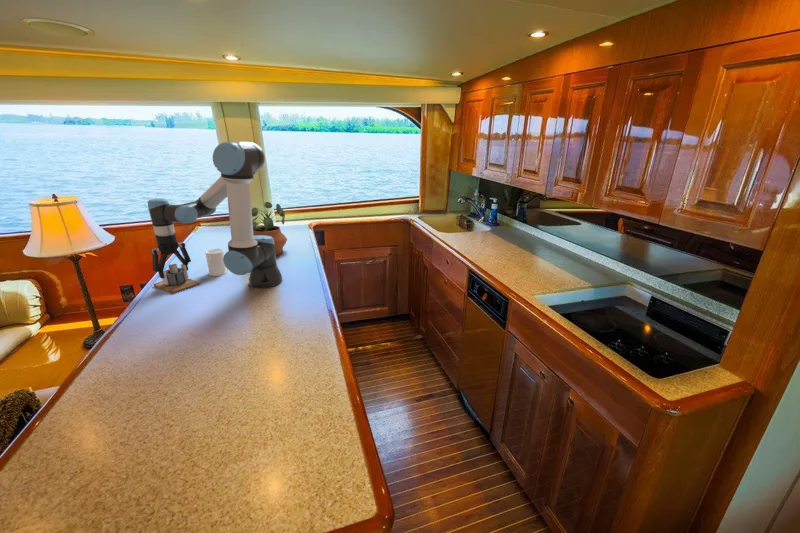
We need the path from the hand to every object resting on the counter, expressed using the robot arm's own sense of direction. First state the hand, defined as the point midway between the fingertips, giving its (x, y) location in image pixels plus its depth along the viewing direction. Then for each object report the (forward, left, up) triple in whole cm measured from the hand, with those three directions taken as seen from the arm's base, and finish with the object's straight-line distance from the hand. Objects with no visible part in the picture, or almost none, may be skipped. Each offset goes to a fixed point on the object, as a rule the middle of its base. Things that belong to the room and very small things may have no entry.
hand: (176, 280), depth 157 cm
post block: (0, 0, -2) cm, 2 cm away
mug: (-3, -18, -3) cm, 18 cm away
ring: (0, 0, 0) cm, 0 cm away
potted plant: (+3, -54, -3) cm, 54 cm away
